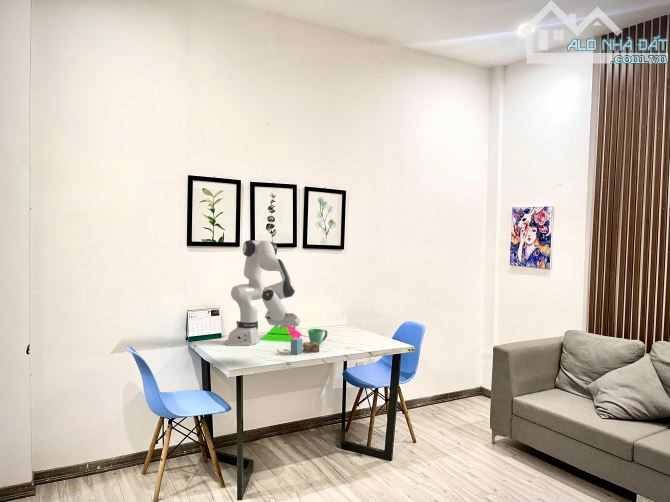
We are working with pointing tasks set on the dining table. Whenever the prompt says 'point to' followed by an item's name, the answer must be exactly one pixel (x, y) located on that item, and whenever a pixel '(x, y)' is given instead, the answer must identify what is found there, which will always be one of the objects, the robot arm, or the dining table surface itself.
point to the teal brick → (296, 346)
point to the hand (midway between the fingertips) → (288, 328)
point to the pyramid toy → (281, 334)
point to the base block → (310, 347)
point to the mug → (317, 335)
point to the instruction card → (284, 350)
